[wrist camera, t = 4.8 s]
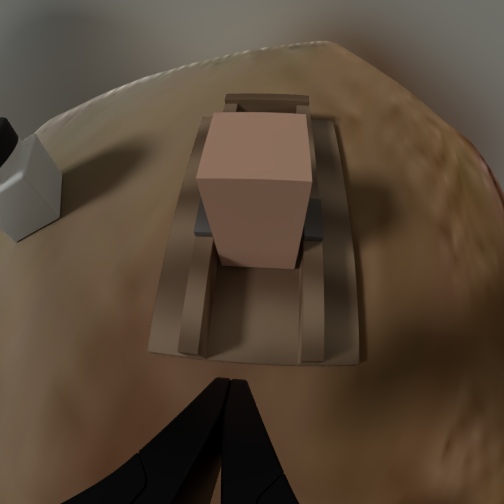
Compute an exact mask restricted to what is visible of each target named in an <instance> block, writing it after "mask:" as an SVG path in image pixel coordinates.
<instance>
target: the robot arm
mask: <svg viewBox="0 0 504 504" xmlns="http://www.w3.org/2000/svg"><path fill="white" fill-rule="evenodd" d="M220 468H221V504H299V502H298V500H297V499H296V497H295V495H294V493H293V491H292V489H291V487H290V485H289V482H288V480H287V478H286V475H285V474H284V471H283V469H282V467H281V464H280V462H279V460H278V457H277V455H276V453H275V450H274V448H273V445H272V443H271V441H270V438H269V436H268V433H267V431H266V428H265V426H264V423H263V421H262V418H261V416H260V413H259V411H258V408H257V406H256V403H255V401H254V398H253V395H252V393H251V390H250V388H249V385H248V382H247V381H246V380H241V379H232V381H231V379H229V378H219V377H218V378H215V379H214V380H213V381H212V382H211V383H210V384H209V385H208V386H207V387H206V388H205V389H204V390H203V391H202V392H201V393H200V394H199V395H198V396H197V397H196V398H195V399H194V400H193V401H192V402H191V403H190V404H189V405H188V406H187V407H186V408H185V409H184V410H183V411H182V412H181V413H180V414H179V415H178V416H177V417H176V418H174V419H173V420H172V421H171V422H170V423H169V424H168V425H167V426H166V427H165V428H164V429H163V430H162V431H161V432H159V433H158V434H157V435H156V436H155V437H154V438H153V439H152V440H151V441H150V442H149V443H147V444H146V445H145V446H144V447H143V448H142V449H141V450H140V451H139V453H136V454H135V455H134V456H133V457H131V458H130V459H129V460H128V461H127V462H126V463H124V464H123V465H122V466H121V467H119V468H118V469H117V470H116V471H114V472H113V473H111V474H110V475H108V476H107V477H105V478H104V479H102V480H101V481H99V482H98V483H96V484H95V485H93V486H91V487H89V488H88V489H86V490H84V491H83V492H81V493H79V494H77V495H76V496H74V497H72V498H70V499H68V500H67V501H65V502H63V503H61V504H210V502H211V498H212V495H213V492H214V488H215V485H216V482H217V478H218V475H219V471H220Z"/></svg>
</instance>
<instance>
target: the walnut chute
mask: <svg viewBox="0 0 504 504" xmlns="http://www.w3.org/2000/svg"><path fill="white" fill-rule="evenodd" d="M223 112H270V113H293V114H306V120H307V129H308V139H309V149H310V160H311V171H312V186H311V191H310V196H309V201H308V206H307V212H306V216H305V221H304V226H303V231H302V236H301V241H300V245H299V250H298V254H297V259H296V263H295V268H294V269H281V268H259V267H238V266H222V264H221V261H220V258H219V255H218V251H217V248H216V245H215V242H214V238H213V235H212V232H211V228H210V225H209V222H208V218H207V215H206V212H205V208H204V205H203V202H202V198H201V195H200V191H199V188H198V184H197V181H196V176H197V172H198V168H199V164H200V160H201V156H202V153H203V149H204V145H205V142H206V138H207V135H208V131H209V128H210V124H211V121H212V117H203V119H202V122H201V125H200V128H199V131H198V134H197V137H196V140H195V143H194V147H193V150H192V153H191V156H190V160H189V163H188V167H187V170H186V174H185V177H184V181H183V184H182V188H181V192H180V195H179V199H178V203H177V207H176V211H175V215H174V219H173V223H172V227H171V231H170V235H169V239H168V244H167V248H166V253H165V257H164V262H163V267H162V272H161V276H160V281H159V287H158V292H157V297H156V302H155V308H154V314H153V320H152V326H151V332H150V338H149V345H148V351H149V352H151V353H156V354H163V355H170V356H177V357H184V358H192V359H200V360H210V361H220V362H231V363H243V364H259V365H280V366H354V365H358V364H359V324H358V302H357V286H356V273H355V261H354V251H353V241H352V232H351V224H350V216H349V209H348V202H347V195H346V189H345V182H344V176H343V171H342V165H341V159H340V154H339V149H338V144H337V139H336V134H335V129H334V125H333V121H329V120H318V119H311V117H310V110H309V96H304V95H287V94H226V98H225V107H224V111H223Z"/></svg>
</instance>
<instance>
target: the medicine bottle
mask: <svg viewBox="0 0 504 504" xmlns="http://www.w3.org/2000/svg"><path fill="white" fill-rule="evenodd" d="M61 186H62V173H61V171H60V170H59V168H58V167H57V165H56V164H55V163H54V161H53V160H52V158H51V157H50V155H49V154H48V152H47V151H46V149H45V148H44V146H43V145H42V143H41V142H40V140H39V138H38V137H37V135H36V134H33V135H31V136H30V137H28V138H26V139H25V140H23V141H21V140H20V138H19V137H18V135H17V134H16V132H15V131H14V129H13V128H12V126H11V125H10V123H9V122H8V120H7V119H6V118H3V117H1V118H0V230H1V231H2V232H4V233H5V234H6V235H7V236H8V237H9V238H10V239H12V240H13V241H14V242H17V241H19V240H21V239H22V238H24V237H26V236H28V235H29V234H31V233H33V232H35V231H36V230H38V229H40V228H42V227H44V226H45V225H47V224H49V223H51V222H53V221H55V220H57V219H58V218H59V217H60V202H61Z"/></svg>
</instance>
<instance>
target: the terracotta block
mask: <svg viewBox="0 0 504 504" xmlns="http://www.w3.org/2000/svg"><path fill="white" fill-rule="evenodd" d="M196 181H197V184H198V188H199V191H200V195H201V198H202V202H203V205H204V208H205V212H206V215H207V218H208V222H209V225H210V228H211V232H212V235H213V238H214V242H215V245H216V248H217V251H218V255H219V258H220V261H221V264H222V266H238V267H259V268H281V269H294V268H295V263H296V259H297V254H298V250H299V245H300V241H301V236H302V231H303V226H304V221H305V216H306V212H307V206H308V201H309V196H310V191H311V186H312V171H311V160H310V149H309V139H308V129H307V120H306V114H293V113H270V112H222V113H214V114H213V117H212V121H211V124H210V128H209V131H208V135H207V138H206V142H205V145H204V149H203V153H202V156H201V160H200V164H199V168H198V172H197V176H196Z"/></svg>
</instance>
